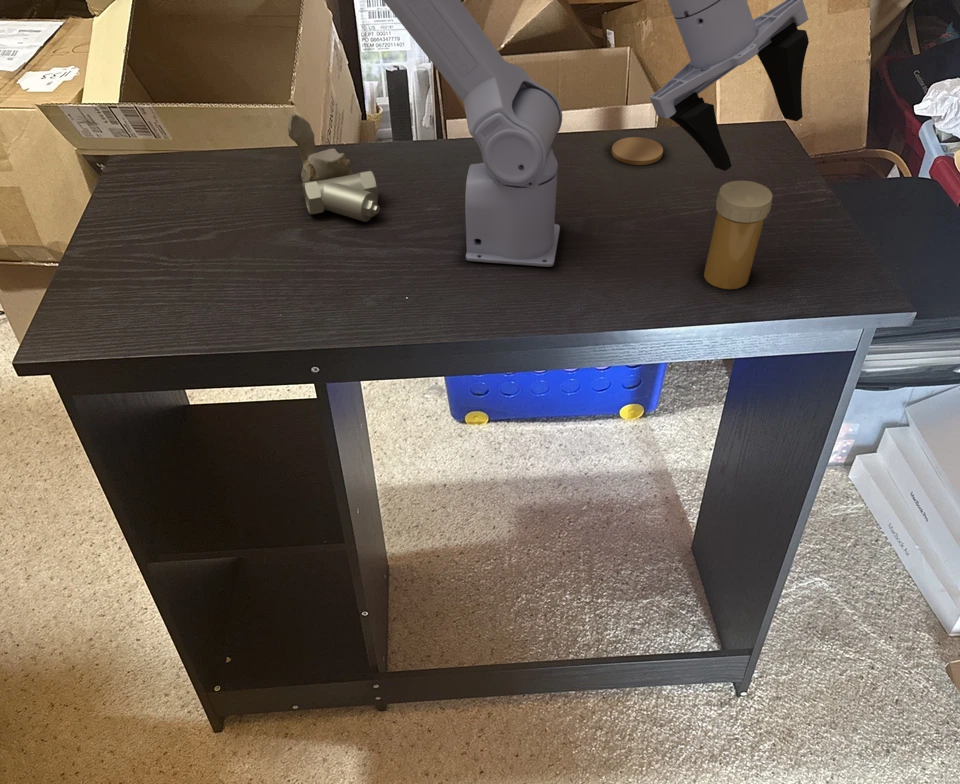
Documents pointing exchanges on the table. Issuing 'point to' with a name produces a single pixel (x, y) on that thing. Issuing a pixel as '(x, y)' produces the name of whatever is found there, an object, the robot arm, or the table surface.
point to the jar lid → (744, 201)
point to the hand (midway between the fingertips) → (758, 142)
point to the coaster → (637, 151)
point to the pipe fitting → (344, 196)
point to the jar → (731, 252)
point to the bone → (316, 154)
